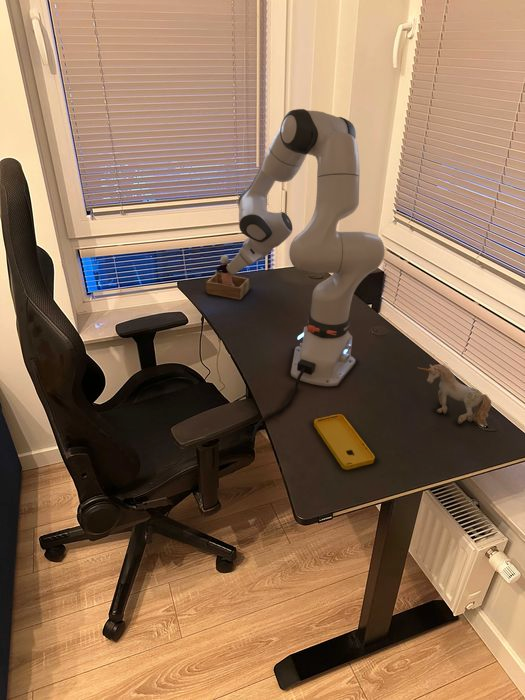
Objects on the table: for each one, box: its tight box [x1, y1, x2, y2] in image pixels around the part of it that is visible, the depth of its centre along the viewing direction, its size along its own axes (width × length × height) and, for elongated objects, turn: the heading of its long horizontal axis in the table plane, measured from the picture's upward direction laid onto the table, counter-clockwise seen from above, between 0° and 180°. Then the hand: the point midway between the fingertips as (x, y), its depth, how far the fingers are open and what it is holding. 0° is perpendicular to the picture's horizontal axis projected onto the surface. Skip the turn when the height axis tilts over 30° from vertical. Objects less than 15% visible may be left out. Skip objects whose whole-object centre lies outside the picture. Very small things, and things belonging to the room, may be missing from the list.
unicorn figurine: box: [417, 363, 492, 427], centre depth 128 cm, size 7×20×13 cm, turn 63°
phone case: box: [313, 413, 376, 471], centre depth 120 cm, size 8×17×1 cm, turn 20°
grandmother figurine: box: [214, 254, 237, 286], centre depth 186 cm, size 8×4×13 cm, turn 93°
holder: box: [205, 272, 251, 300], centre depth 189 cm, size 10×14×5 cm
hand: (230, 269), depth 185 cm, fingers closed on grandmother figurine, 2 cm apart
